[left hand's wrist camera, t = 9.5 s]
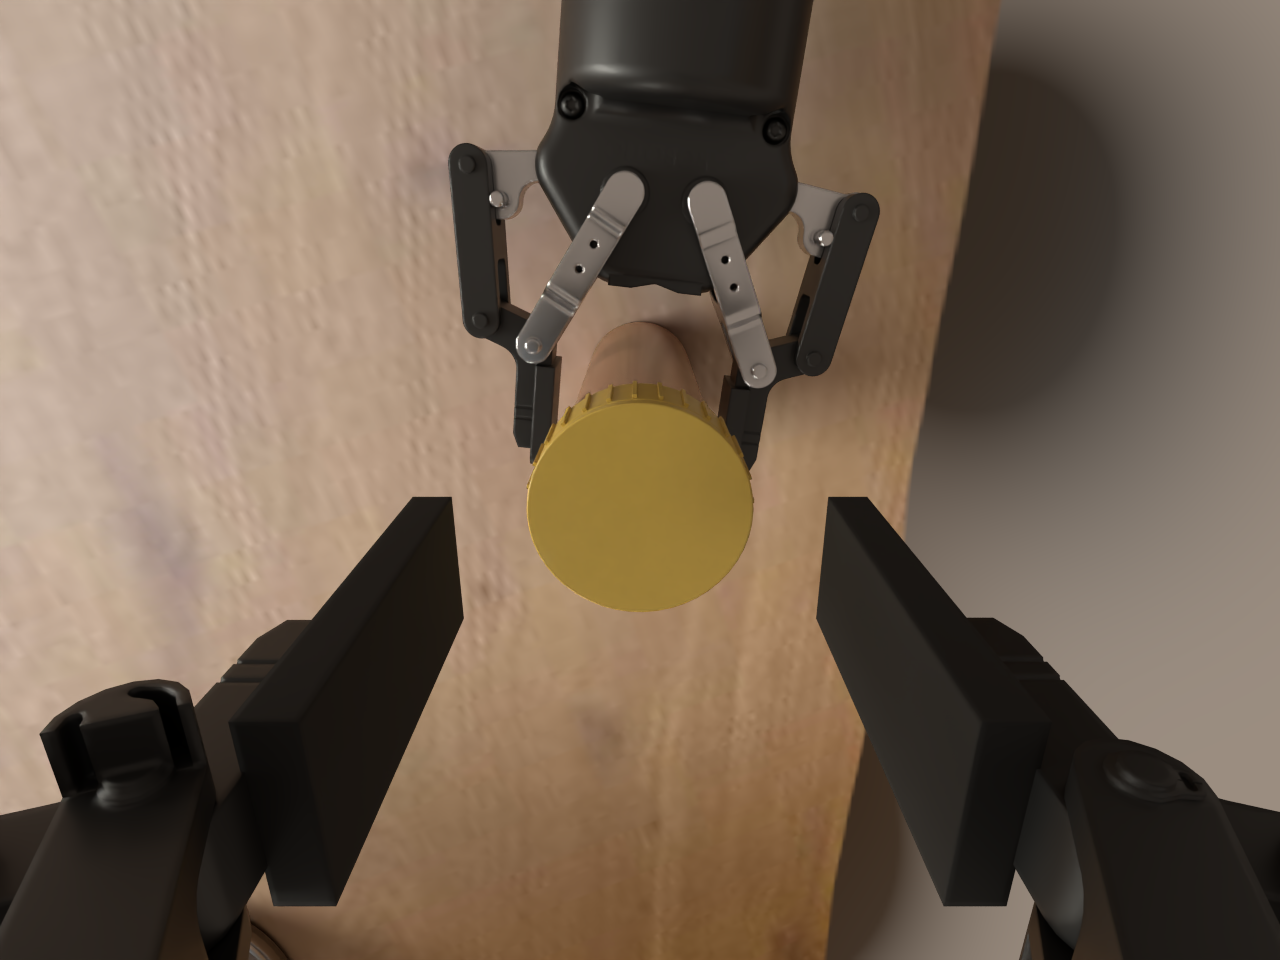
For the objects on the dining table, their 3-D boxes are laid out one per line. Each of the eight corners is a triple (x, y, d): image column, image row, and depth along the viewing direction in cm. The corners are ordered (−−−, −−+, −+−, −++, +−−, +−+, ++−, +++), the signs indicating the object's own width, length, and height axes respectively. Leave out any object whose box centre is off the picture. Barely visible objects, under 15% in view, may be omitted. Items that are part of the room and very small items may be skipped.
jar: (599, 427, 32) (565, 601, 18) (581, 330, 31) (527, 430, 16) (696, 413, 32) (743, 576, 17) (682, 314, 31) (722, 400, 16)
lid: (558, 588, 19) (549, 628, 17) (515, 398, 17) (500, 420, 15) (754, 560, 19) (766, 598, 17) (732, 364, 17) (743, 382, 15)
